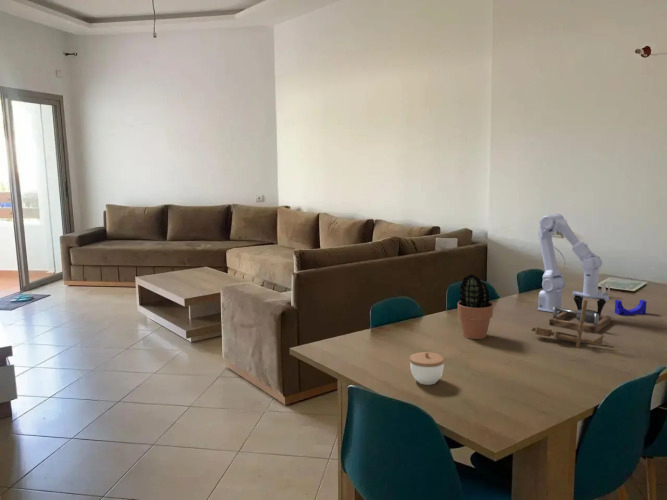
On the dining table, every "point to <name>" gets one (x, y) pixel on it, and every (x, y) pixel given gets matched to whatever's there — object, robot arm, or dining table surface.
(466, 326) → the potted plant
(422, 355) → the lidded jar
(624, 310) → the blue curved piece
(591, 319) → the grey round dome
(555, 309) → the metal handle
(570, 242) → the robot arm
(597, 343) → the wooden figure
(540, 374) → the dining table surface
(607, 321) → the frame
